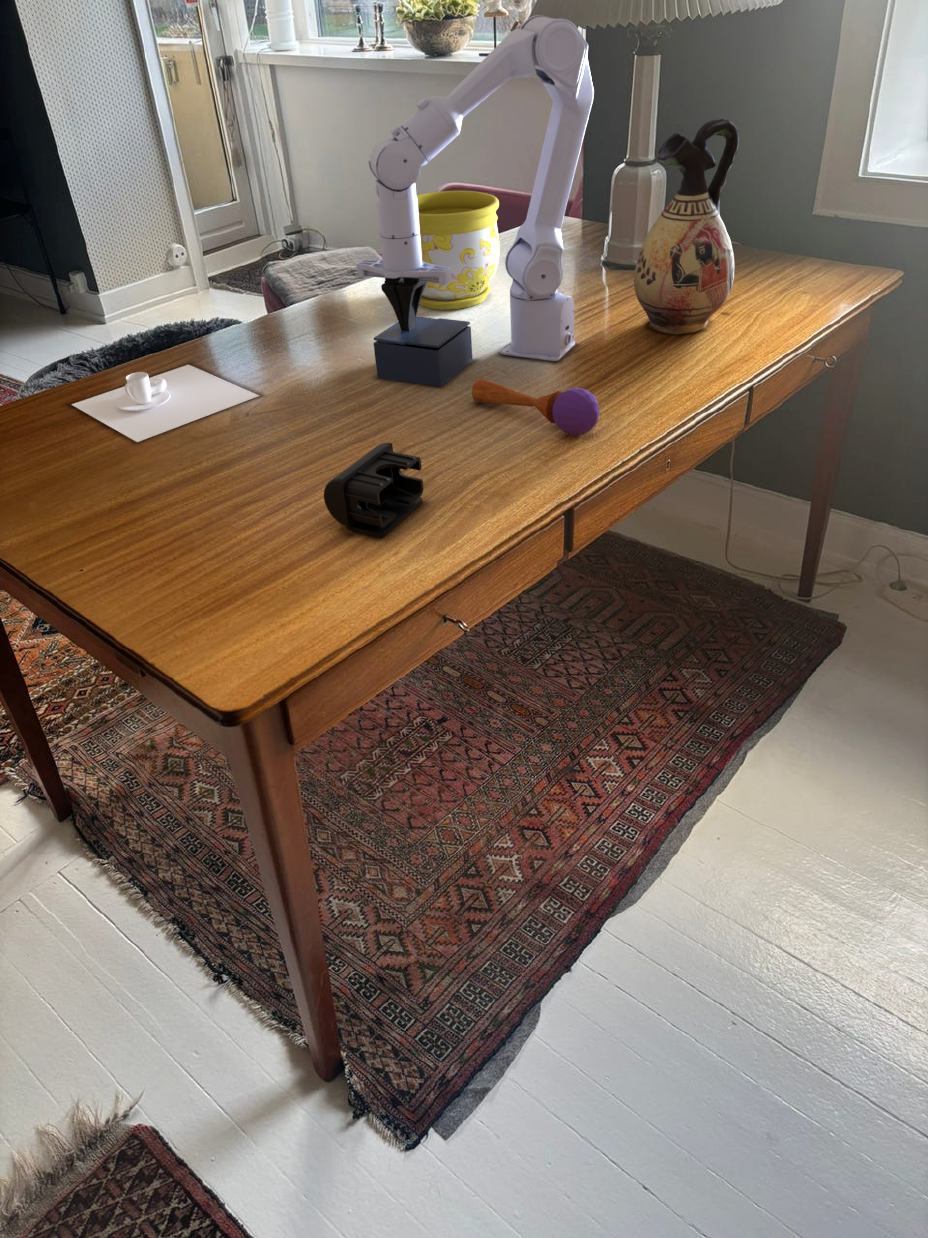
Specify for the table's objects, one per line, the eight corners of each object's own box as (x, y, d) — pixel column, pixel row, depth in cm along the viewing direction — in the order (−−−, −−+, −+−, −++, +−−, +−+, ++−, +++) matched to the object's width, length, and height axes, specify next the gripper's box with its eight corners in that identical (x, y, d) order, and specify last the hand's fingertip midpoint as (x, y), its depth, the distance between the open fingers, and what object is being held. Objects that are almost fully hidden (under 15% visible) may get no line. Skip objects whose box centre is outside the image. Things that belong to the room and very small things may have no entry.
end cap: (376, 489, 113) (370, 437, 109) (426, 500, 110) (422, 448, 106) (327, 528, 106) (318, 474, 102) (379, 541, 103) (373, 487, 99)
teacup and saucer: (158, 385, 143) (152, 359, 141) (186, 398, 138) (179, 372, 136) (105, 404, 138) (98, 377, 136) (132, 418, 134) (124, 391, 131)
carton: (377, 377, 141) (372, 337, 138) (411, 352, 149) (408, 314, 145) (440, 386, 137) (437, 345, 134) (472, 360, 145) (470, 321, 141)
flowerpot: (382, 300, 171) (372, 204, 162) (457, 277, 180) (452, 185, 171) (445, 322, 160) (438, 220, 150) (522, 296, 169) (520, 199, 159)
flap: (373, 340, 138) (373, 337, 138) (408, 316, 145) (408, 314, 145) (404, 344, 136) (404, 342, 136) (438, 321, 144) (438, 318, 143)
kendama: (495, 366, 132) (610, 388, 119) (493, 408, 134) (606, 435, 122) (465, 371, 128) (581, 395, 116) (464, 414, 131) (578, 442, 118)
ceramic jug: (657, 347, 145) (673, 133, 128) (616, 317, 157) (625, 117, 140) (755, 331, 149) (784, 120, 131) (708, 303, 161) (728, 106, 143)
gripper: (341, 237, 132) (353, 332, 140) (432, 244, 127) (438, 342, 135) (366, 224, 137) (376, 317, 145) (455, 231, 132) (460, 326, 140)
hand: (408, 328), depth 140 cm, fingers closed, pressing on flap
